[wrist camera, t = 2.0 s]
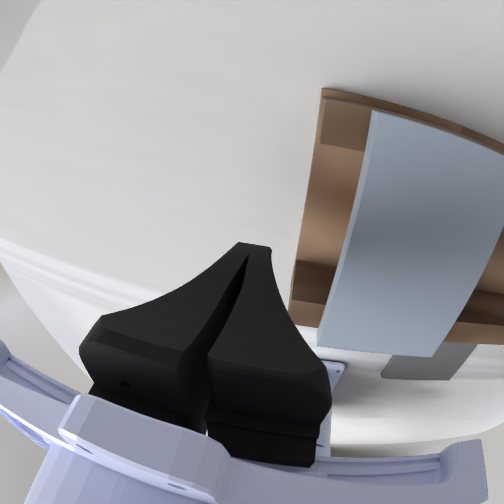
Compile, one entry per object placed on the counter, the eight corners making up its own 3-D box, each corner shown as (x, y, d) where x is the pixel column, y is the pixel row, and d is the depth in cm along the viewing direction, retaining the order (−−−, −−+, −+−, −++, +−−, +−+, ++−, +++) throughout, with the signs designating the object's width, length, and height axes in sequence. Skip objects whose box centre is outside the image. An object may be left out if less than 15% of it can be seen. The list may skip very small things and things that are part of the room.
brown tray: (511, 311, 20) (530, 348, 16) (291, 279, 23) (285, 328, 19) (569, 182, 13) (605, 209, 8) (322, 87, 15) (327, 89, 11)
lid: (427, 343, 17) (431, 357, 16) (317, 331, 18) (316, 345, 17) (511, 158, 10) (523, 165, 9) (372, 109, 11) (378, 112, 10)
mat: (447, 376, 26) (448, 380, 26) (381, 373, 27) (381, 378, 27) (489, 320, 22) (491, 324, 21) (417, 312, 22) (419, 317, 22)
